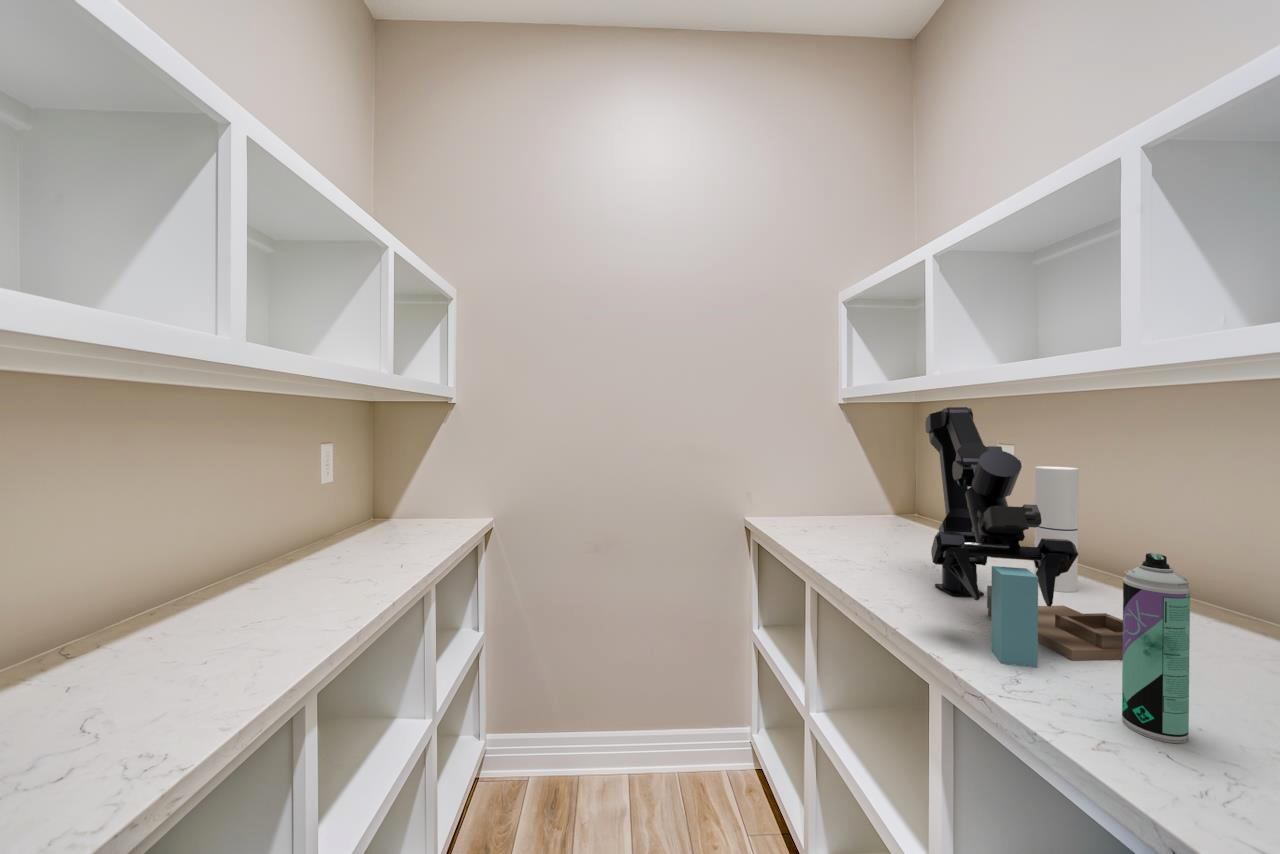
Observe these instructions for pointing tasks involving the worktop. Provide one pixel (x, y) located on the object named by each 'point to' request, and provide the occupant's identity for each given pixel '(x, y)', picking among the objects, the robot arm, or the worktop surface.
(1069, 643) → the walnut base board
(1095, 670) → the worktop surface
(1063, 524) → the cylindrical container
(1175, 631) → the spray can
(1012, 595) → the teal column
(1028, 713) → the worktop surface
